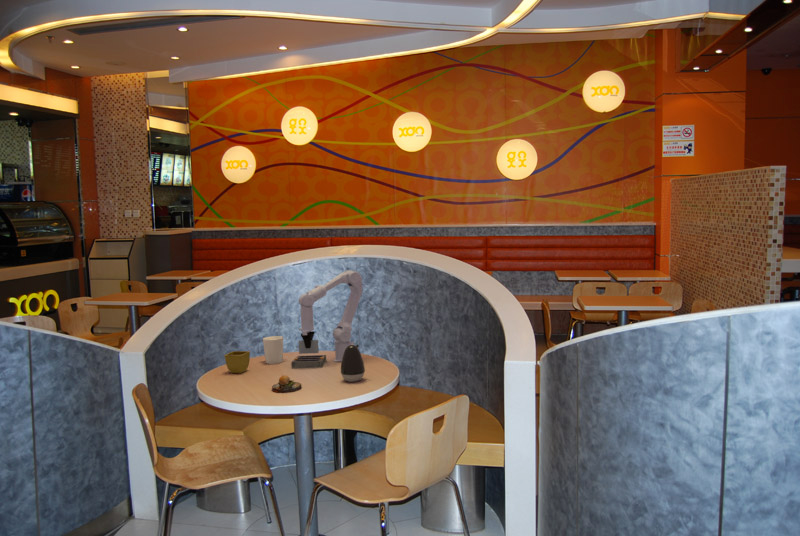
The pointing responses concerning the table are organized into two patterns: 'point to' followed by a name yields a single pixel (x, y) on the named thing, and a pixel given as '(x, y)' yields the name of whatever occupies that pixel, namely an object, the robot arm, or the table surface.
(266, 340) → the candle holder
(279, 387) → the plate of food
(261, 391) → the table surface
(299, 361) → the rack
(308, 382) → the table surface
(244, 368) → the flower pot
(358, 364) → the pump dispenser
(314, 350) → the panel
